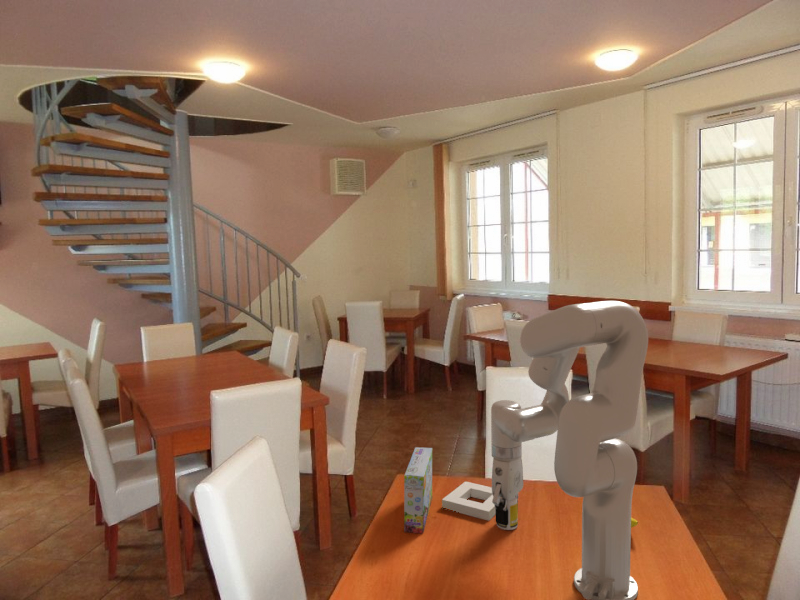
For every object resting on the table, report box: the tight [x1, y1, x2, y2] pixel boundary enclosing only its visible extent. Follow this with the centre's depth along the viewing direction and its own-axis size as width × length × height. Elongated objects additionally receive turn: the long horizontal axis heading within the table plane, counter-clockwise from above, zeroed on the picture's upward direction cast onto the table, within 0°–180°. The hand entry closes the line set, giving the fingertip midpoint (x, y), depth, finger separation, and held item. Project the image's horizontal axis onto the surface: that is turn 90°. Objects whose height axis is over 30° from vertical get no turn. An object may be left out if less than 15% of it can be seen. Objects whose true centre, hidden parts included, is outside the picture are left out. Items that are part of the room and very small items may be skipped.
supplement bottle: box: [496, 494, 519, 531], centre depth 148 cm, size 5×5×10 cm
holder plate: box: [441, 481, 496, 521], centre depth 160 cm, size 14×14×2 cm
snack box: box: [403, 447, 433, 534], centre depth 155 cm, size 21×6×15 cm, turn 171°
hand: (506, 518), depth 148 cm, fingers closed on supplement bottle, 5 cm apart
